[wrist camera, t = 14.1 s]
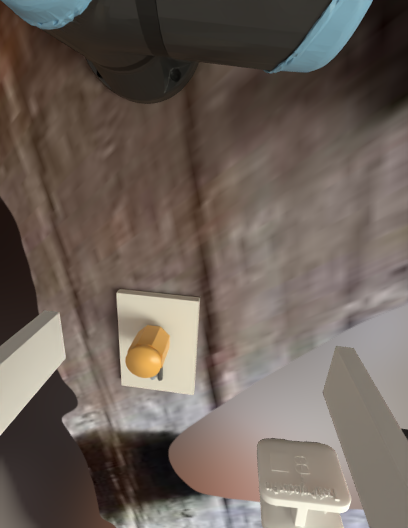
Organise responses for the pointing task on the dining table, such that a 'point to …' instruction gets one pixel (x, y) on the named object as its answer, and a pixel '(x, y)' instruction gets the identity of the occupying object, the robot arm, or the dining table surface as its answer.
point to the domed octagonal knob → (148, 351)
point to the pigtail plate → (174, 323)
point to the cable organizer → (300, 485)
